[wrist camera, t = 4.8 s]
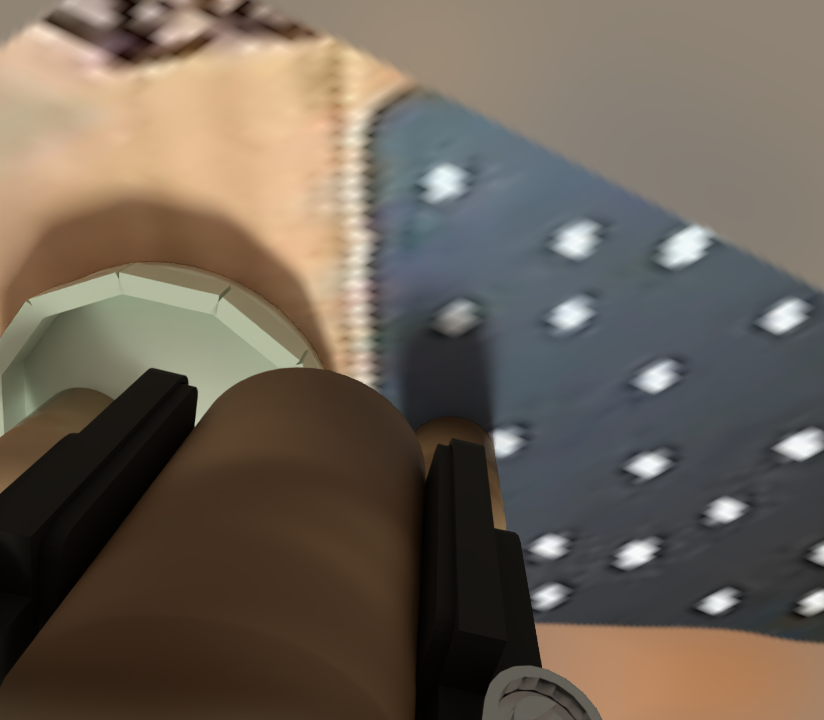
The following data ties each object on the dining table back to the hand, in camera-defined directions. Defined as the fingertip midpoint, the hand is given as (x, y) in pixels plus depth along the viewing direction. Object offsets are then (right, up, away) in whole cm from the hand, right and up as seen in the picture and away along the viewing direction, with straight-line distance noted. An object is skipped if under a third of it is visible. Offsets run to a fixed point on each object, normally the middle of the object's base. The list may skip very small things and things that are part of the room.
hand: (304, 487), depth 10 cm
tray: (-8, 0, +17) cm, 19 cm away
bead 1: (0, 0, 0) cm, 0 cm away
